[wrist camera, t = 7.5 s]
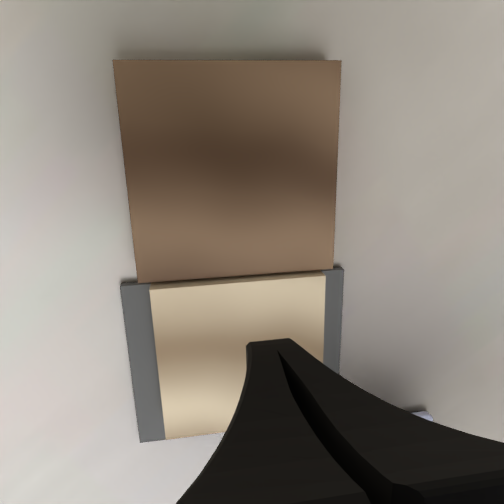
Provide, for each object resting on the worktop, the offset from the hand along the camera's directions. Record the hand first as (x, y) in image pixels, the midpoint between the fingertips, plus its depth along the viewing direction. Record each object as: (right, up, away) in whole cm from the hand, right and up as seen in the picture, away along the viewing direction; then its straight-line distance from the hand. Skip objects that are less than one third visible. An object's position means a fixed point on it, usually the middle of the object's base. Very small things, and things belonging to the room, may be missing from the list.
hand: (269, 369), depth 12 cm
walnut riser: (-1, +7, +6) cm, 10 cm away
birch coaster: (-1, -1, +9) cm, 9 cm away
